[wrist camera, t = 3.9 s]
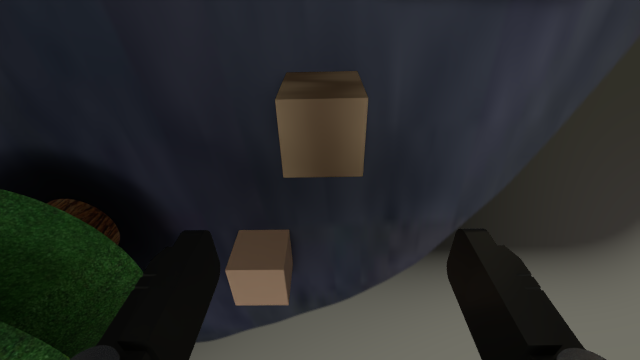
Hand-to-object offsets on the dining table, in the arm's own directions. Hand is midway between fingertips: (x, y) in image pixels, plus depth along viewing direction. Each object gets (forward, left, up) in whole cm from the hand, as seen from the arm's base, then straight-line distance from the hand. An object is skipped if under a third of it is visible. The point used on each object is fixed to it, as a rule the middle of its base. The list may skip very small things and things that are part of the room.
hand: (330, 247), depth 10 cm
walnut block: (0, 0, -15) cm, 15 cm away
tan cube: (-6, -15, -15) cm, 22 cm away
